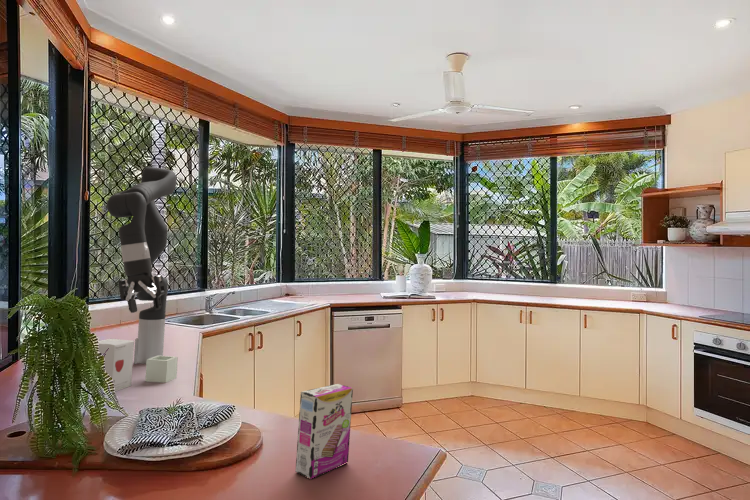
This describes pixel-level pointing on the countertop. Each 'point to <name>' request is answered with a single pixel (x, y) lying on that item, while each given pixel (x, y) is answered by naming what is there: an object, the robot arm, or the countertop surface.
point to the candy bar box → (323, 429)
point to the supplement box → (118, 361)
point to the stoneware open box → (161, 369)
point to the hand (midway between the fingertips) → (145, 310)
